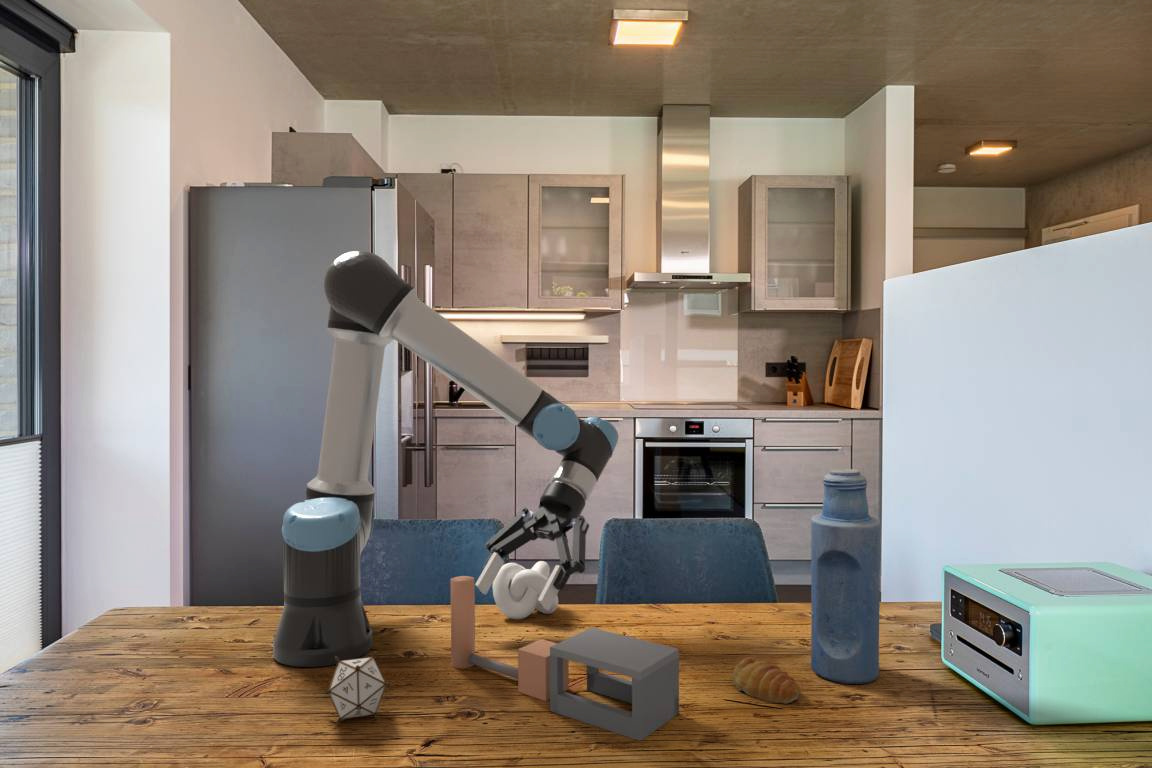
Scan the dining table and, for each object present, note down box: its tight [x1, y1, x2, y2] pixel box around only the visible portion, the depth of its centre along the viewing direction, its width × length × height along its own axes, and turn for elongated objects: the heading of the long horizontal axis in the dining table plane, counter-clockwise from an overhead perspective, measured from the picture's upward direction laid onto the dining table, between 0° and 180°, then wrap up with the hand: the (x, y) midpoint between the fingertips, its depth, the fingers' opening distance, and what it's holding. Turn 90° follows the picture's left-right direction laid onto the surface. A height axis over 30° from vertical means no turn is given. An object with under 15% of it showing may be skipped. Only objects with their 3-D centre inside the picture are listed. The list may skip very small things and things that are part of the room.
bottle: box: [810, 468, 881, 685], centre depth 116 cm, size 10×10×30 cm
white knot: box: [492, 560, 559, 620], centre depth 145 cm, size 11×12×9 cm
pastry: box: [731, 656, 801, 704], centre depth 110 cm, size 9×7×4 cm
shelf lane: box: [549, 627, 680, 742], centre depth 104 cm, size 14×9×8 cm
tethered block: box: [450, 575, 570, 702], centre depth 115 cm, size 20×5×13 cm, turn 52°
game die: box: [322, 650, 393, 727], centre depth 102 cm, size 9×8×10 cm
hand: (510, 597), depth 128 cm, fingers open, 13 cm apart
